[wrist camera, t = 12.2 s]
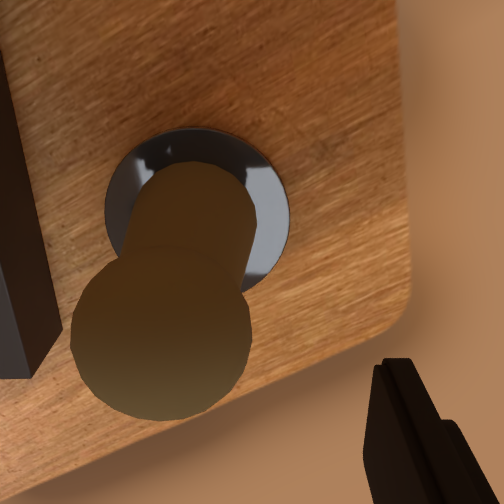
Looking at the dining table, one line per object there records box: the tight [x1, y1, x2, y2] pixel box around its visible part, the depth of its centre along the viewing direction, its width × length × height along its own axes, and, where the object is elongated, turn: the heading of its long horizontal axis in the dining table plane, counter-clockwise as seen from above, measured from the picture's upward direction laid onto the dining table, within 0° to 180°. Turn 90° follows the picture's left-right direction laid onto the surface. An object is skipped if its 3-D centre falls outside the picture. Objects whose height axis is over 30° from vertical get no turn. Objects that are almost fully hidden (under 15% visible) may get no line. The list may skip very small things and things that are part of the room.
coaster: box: [104, 126, 290, 293], centre depth 22 cm, size 9×9×1 cm
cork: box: [70, 161, 257, 421], centre depth 17 cm, size 6×6×11 cm
